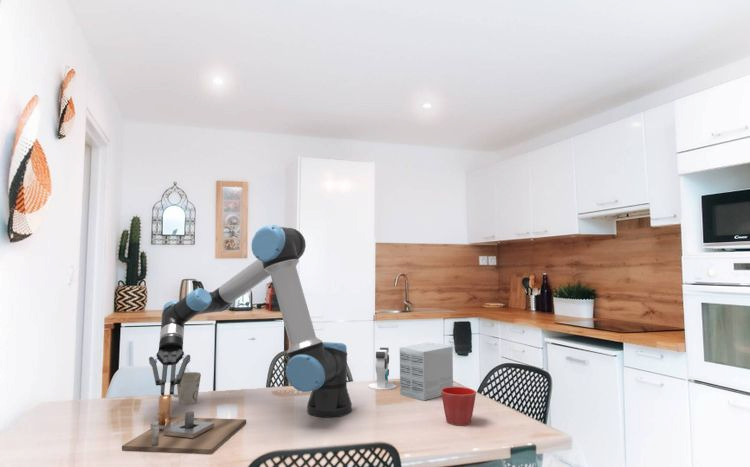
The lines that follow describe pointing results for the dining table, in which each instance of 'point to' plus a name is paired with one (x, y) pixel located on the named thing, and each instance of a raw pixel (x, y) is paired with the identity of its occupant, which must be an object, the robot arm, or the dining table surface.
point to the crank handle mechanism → (177, 428)
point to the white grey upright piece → (382, 371)
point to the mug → (188, 388)
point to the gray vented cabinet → (425, 370)
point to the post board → (175, 444)
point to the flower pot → (458, 404)
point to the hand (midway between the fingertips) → (166, 403)
